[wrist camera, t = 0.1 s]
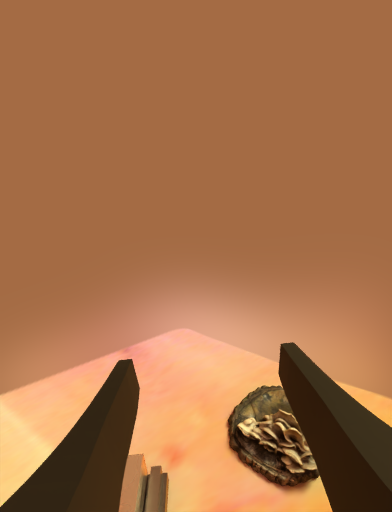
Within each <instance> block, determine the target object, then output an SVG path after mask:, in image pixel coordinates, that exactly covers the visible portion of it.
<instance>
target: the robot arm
mask: <svg viewBox="0 0 392 512" xmlns="http://www.w3.org/2000/svg"><path fill="white" fill-rule="evenodd" d="M279 377H280V380H281V383H282V386H283V389H284V392H285V395H286V398H287V400H288V402H289V404H290V407H291V409H292V411H293V413H294V416H295V418H296V420H297V422H298V424H299V427H300V429H301V431H302V433H303V435H304V438H305V440H306V442H307V444H308V446H309V449H310V451H311V453H312V456H313V458H314V461H315V463H316V466H317V469H318V471H319V474H320V477H321V480H322V482H323V485H324V488H325V491H326V494H327V497H328V499H329V502H330V505H331V508H332V511H333V512H392V427H390V426H389V425H387V424H386V423H385V422H383V421H382V420H380V419H379V418H378V417H376V416H375V415H374V414H373V413H371V412H370V411H369V410H367V409H366V408H365V407H364V406H362V405H361V404H360V403H359V402H357V401H356V400H355V399H354V398H352V397H351V396H350V395H349V394H348V393H347V392H345V391H344V390H343V389H342V388H341V387H340V386H338V385H337V384H336V383H335V382H334V381H333V380H332V379H331V378H330V377H328V376H327V375H326V374H325V373H324V372H323V371H322V370H321V369H320V368H319V367H318V366H317V365H316V364H315V363H314V362H313V361H312V360H311V359H310V358H309V357H308V356H306V354H305V353H304V352H303V351H302V350H301V349H300V348H299V347H298V346H297V345H296V344H295V343H284V344H281V348H280V361H279ZM139 390H140V388H139V384H138V380H137V376H136V373H135V369H134V365H133V361H132V359H127V360H119V361H118V362H117V364H116V365H115V367H114V369H113V370H112V372H111V373H110V375H109V377H108V378H107V380H106V381H105V383H104V384H103V386H102V387H101V389H100V390H99V392H98V393H97V395H96V396H95V398H94V399H93V401H92V402H91V404H90V405H89V406H88V408H87V409H86V411H85V412H84V413H83V415H82V416H81V417H80V419H79V420H78V421H77V423H76V424H75V425H74V427H73V428H72V429H71V430H70V432H69V433H68V434H67V435H66V437H65V438H64V439H63V440H62V442H61V443H60V444H59V445H58V446H57V448H56V449H55V450H54V451H53V452H52V453H51V455H50V456H49V457H48V458H47V459H46V460H45V461H44V462H43V463H42V465H41V466H40V467H39V468H38V469H37V470H36V471H35V472H34V473H33V474H32V476H31V477H30V478H29V479H28V480H27V481H26V482H25V483H24V484H23V485H22V486H21V487H20V488H19V489H18V490H17V491H16V492H15V493H14V494H13V495H12V496H11V497H10V498H9V499H8V500H7V501H6V502H5V503H4V504H3V505H2V506H1V507H0V512H119V506H120V499H121V491H122V484H123V478H124V472H125V467H126V462H127V458H128V453H129V448H130V444H131V439H132V434H133V430H134V425H135V420H136V415H137V409H138V401H139Z"/></svg>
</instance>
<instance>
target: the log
mask: <svg viewBox="0 0 392 512" xmlns="http://www.w3.org/2000/svg"><path fill="white" fill-rule="evenodd" d="M228 422H229V425H230V428H229V436H230V442H229V443H230V446H231V448H232V449H233V450H235V451H237V452H238V455H239V458H240V459H241V460H242V461H243V463H246V464H248V465H250V466H251V467H252V468H253V470H255V471H256V472H260V473H262V474H263V475H264V476H265V477H266V478H267V479H268V480H270V481H272V482H275V483H277V484H280V485H281V486H284V485H289V486H294V485H297V484H298V483H301V482H306V481H307V480H309V479H311V478H318V477H319V475H320V474H319V471H318V469H317V466H316V463H315V461H314V458H313V456H312V453H311V451H310V449H309V446H308V444H307V442H306V440H305V438H304V435H303V433H302V431H301V429H300V427H299V424H298V422H297V420H296V418H295V416H294V413H293V411H292V409H291V407H290V404H289V402H288V400H287V398H286V395H285V392H284V389H283V388H282V387H281V386H277V387H276V386H271V387H268V386H262V387H261V388H259V387H258V388H257V389H256V390H255V391H253V392H250V393H249V394H248V395H247V397H245V398H244V399H243V400H242V401H241V403H240V404H239V405H237V406H236V407H235V408H234V412H233V414H232V415H231V416H230V417H229V419H228Z"/></svg>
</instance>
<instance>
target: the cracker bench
mask: <svg viewBox="0 0 392 512" xmlns="http://www.w3.org/2000/svg"><path fill="white" fill-rule="evenodd" d="M168 483H169V479H168V474H167V473H162V468H161V466H155V467H151V474H150V475H147V483H146V491H145V499H144V507H143V512H167V501H168Z"/></svg>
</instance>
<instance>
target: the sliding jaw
mask: <svg viewBox="0 0 392 512" xmlns="http://www.w3.org/2000/svg"><path fill="white" fill-rule="evenodd" d="M147 475H148V472H147V467H146V463H145V459H144V455H143V454H137V455H128V458H127V462H126V467H125V472H124V478H123V484H122V491H121V499H120V506H119V512H143V507H144V499H145V491H146V483H147Z"/></svg>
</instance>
